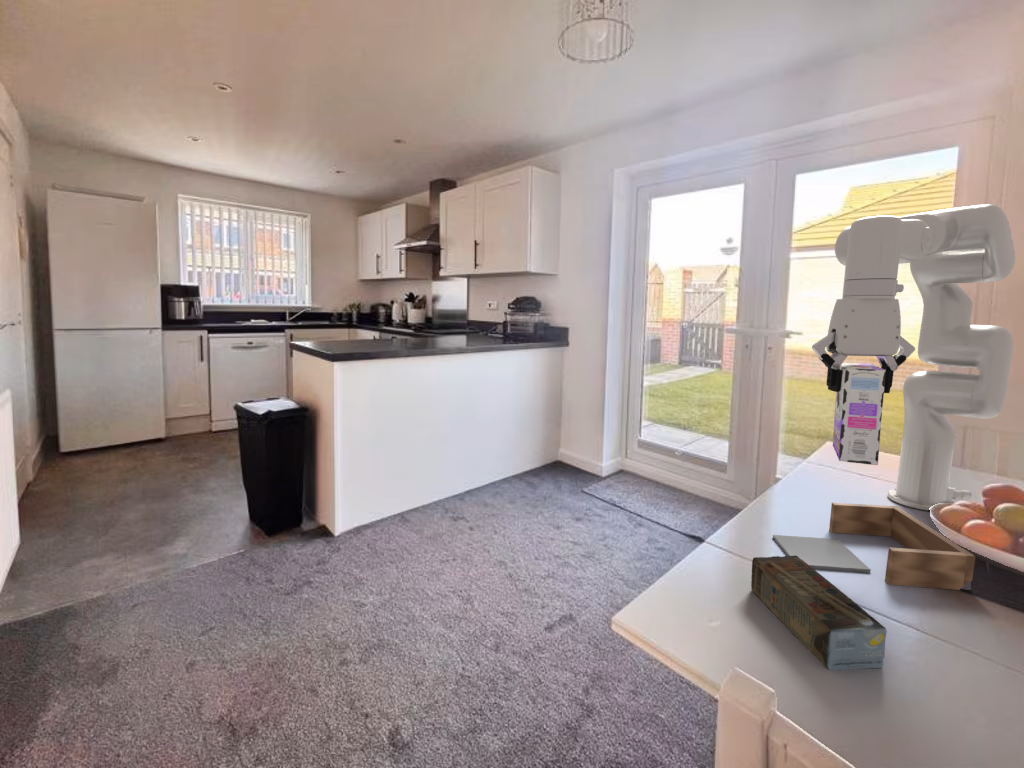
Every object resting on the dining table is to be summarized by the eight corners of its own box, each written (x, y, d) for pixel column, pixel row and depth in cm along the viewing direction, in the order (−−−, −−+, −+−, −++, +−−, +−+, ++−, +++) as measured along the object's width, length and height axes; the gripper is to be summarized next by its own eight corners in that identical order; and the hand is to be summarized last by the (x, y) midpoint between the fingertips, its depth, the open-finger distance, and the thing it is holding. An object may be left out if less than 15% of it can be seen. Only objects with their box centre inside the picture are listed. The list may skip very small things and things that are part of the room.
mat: (837, 541, 100) (837, 539, 100) (870, 572, 88) (870, 569, 88) (772, 537, 102) (773, 534, 101) (796, 567, 90) (797, 564, 90)
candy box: (879, 466, 84) (887, 369, 82) (837, 462, 87) (844, 367, 85) (867, 447, 96) (874, 362, 94) (831, 444, 99) (836, 361, 97)
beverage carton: (825, 673, 64) (830, 625, 63) (747, 590, 83) (750, 553, 82) (885, 671, 64) (891, 623, 63) (794, 589, 83) (797, 551, 82)
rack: (893, 534, 103) (896, 506, 103) (970, 590, 82) (975, 556, 82) (829, 530, 105) (831, 502, 104) (888, 584, 84) (892, 550, 83)
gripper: (909, 292, 90) (897, 389, 93) (805, 291, 92) (797, 387, 95) (938, 290, 83) (925, 396, 85) (825, 290, 85) (815, 393, 87)
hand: (857, 390), depth 90 cm, fingers closed on candy box, 7 cm apart
